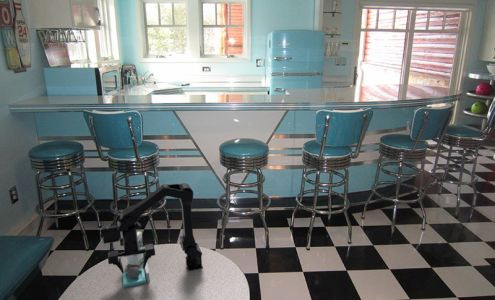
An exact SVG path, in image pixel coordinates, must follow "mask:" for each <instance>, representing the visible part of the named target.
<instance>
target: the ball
mask: <svg viewBox="0 0 495 300" xmlns="http://www.w3.org/2000/svg"><path fill="white" fill-rule="evenodd" d="M139 269H140V268H139V267H137V266H132V267H130V268H129V269H128V271H127V272H128V276H129V278H131V279H136V278H137V277H138V276H139V274H140V270H139Z"/></svg>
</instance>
